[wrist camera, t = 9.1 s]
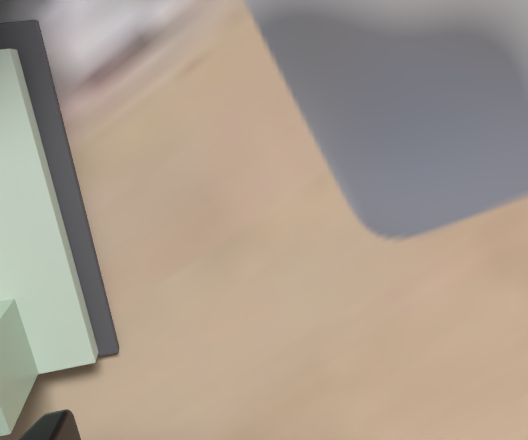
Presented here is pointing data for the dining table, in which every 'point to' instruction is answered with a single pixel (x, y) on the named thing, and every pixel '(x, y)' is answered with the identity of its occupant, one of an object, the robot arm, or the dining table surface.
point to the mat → (62, 174)
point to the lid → (33, 258)
